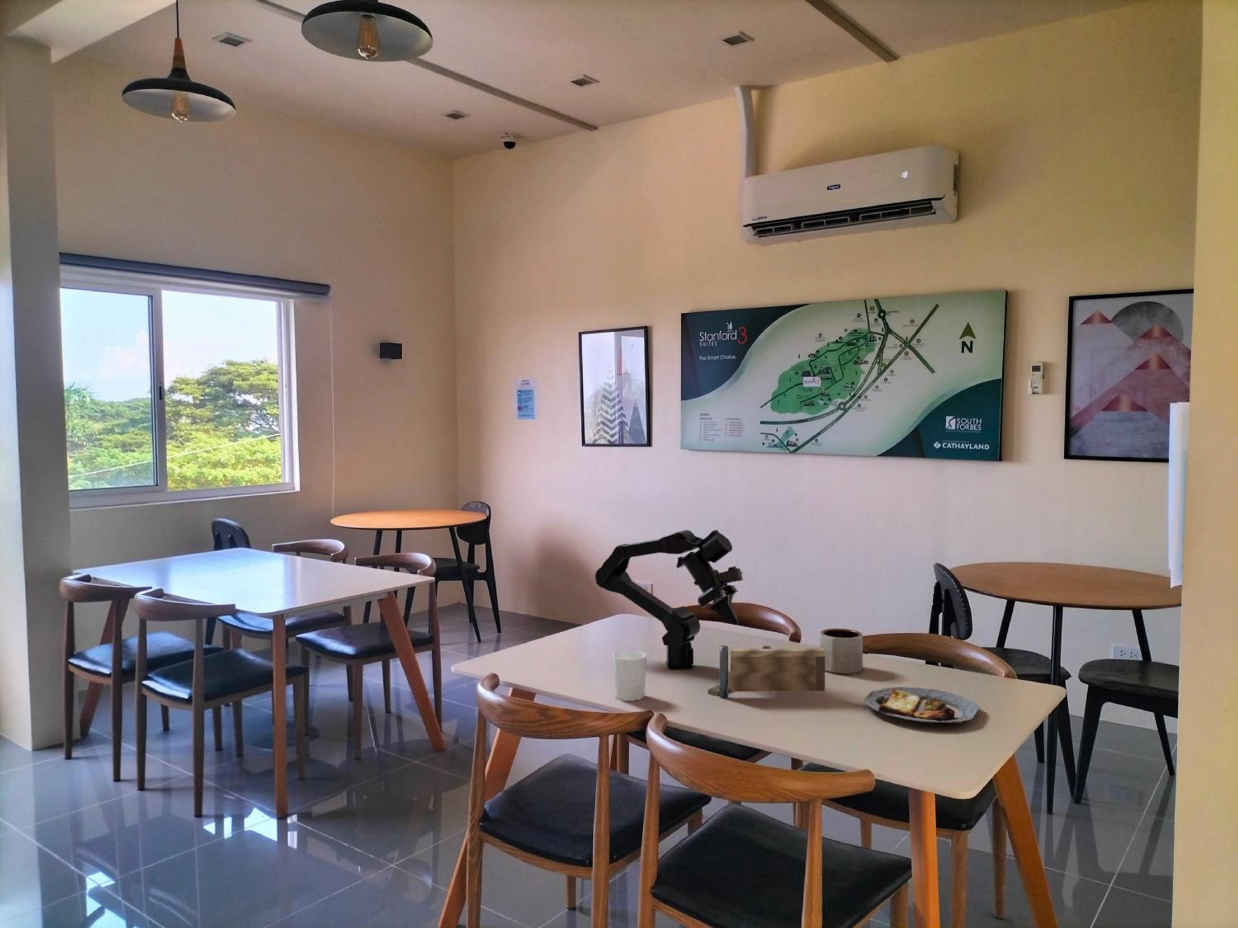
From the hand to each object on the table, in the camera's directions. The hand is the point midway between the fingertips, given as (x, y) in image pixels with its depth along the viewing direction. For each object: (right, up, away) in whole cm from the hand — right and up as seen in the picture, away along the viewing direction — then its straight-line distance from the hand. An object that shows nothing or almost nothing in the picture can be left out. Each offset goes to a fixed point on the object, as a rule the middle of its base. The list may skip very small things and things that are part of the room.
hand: (736, 623), depth 220 cm
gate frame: (+1, -14, -7) cm, 15 cm away
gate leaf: (+7, -13, -17) cm, 22 cm away
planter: (+28, -13, +6) cm, 32 cm away
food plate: (+37, -15, -28) cm, 49 cm away
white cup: (-27, -14, -17) cm, 35 cm away
